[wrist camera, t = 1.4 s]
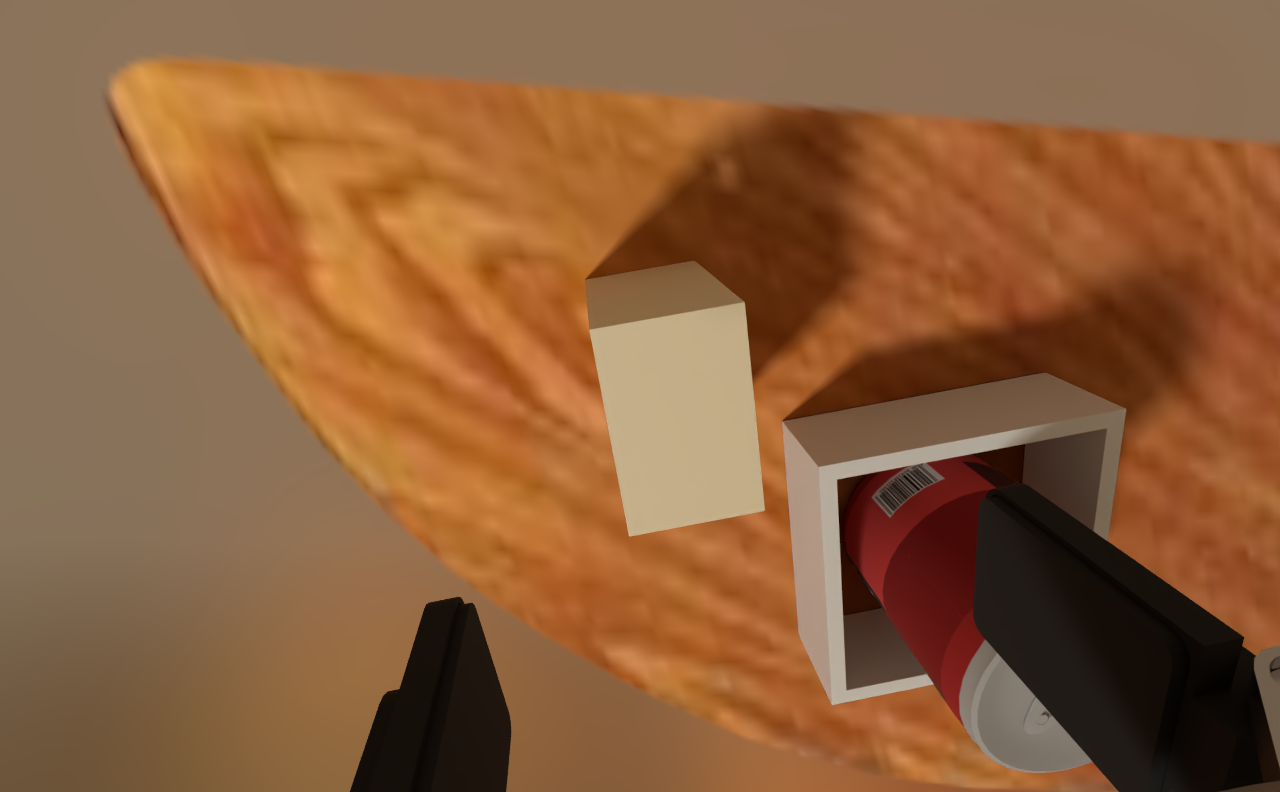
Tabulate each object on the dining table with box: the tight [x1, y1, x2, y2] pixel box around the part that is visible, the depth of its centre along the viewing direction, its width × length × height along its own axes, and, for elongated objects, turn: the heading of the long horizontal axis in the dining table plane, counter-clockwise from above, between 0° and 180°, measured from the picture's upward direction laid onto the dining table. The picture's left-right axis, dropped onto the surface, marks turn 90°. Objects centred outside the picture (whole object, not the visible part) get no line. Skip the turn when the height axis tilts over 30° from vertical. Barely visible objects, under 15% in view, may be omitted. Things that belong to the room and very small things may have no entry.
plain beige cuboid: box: [585, 260, 765, 537], centre depth 23 cm, size 4×7×8 cm, turn 9°
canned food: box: [843, 454, 1092, 773], centre depth 26 cm, size 8×8×11 cm
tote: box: [782, 372, 1126, 705], centre depth 29 cm, size 12×12×4 cm
